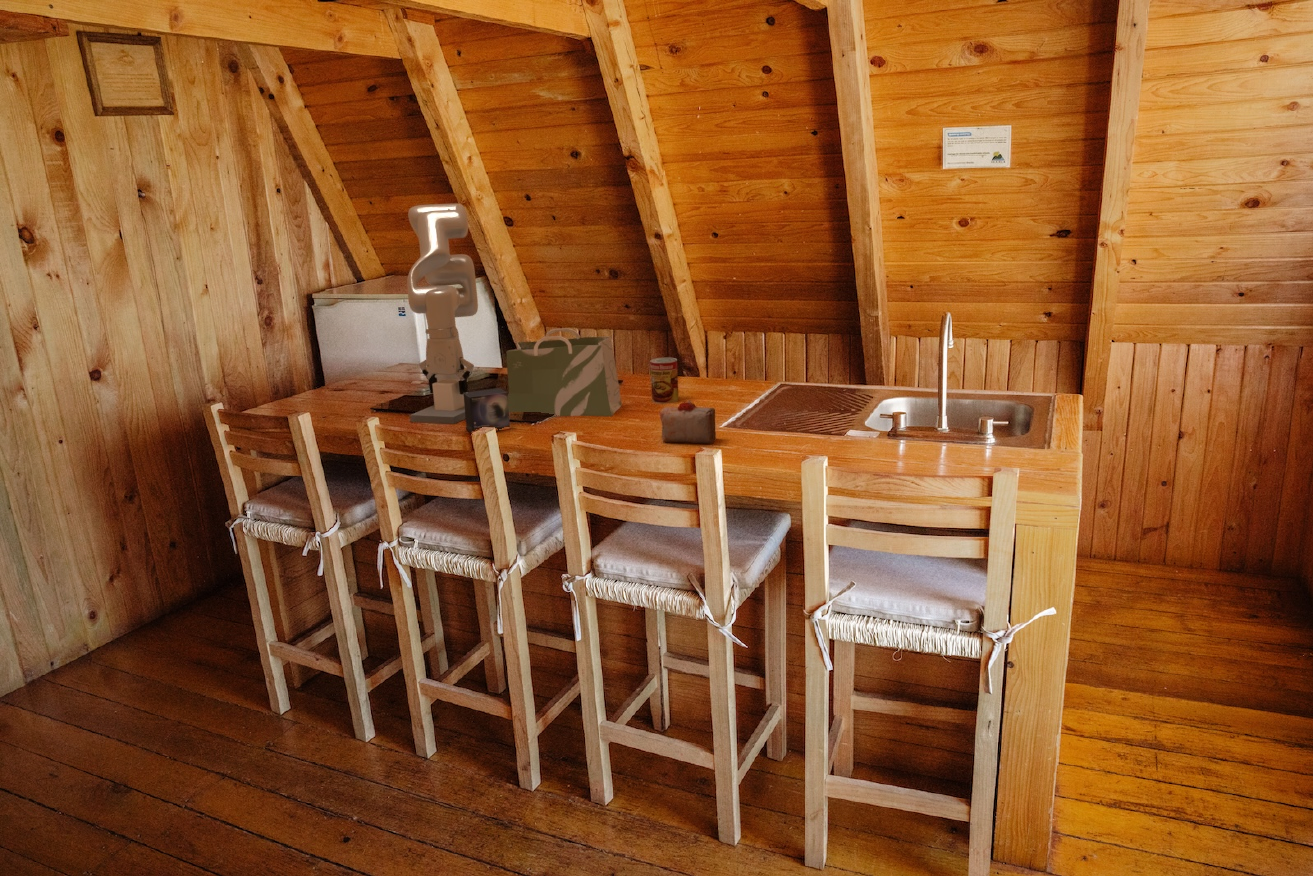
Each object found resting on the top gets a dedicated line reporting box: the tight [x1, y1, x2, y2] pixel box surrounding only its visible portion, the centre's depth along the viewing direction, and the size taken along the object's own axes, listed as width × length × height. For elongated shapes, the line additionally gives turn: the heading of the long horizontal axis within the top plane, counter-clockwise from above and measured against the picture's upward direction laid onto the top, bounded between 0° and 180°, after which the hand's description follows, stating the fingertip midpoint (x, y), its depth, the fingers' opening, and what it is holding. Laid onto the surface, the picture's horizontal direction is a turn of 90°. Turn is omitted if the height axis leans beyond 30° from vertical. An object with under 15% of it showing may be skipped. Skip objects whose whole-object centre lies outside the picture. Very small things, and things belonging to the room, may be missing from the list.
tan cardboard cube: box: [432, 379, 464, 411], centre depth 272 cm, size 6×6×8 cm
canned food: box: [649, 357, 679, 404], centre depth 278 cm, size 8×8×12 cm
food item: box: [659, 399, 717, 445], centre depth 234 cm, size 14×8×10 cm, turn 73°
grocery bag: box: [506, 327, 622, 417], centre depth 269 cm, size 32×14×23 cm, turn 77°
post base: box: [409, 404, 466, 425], centre depth 272 cm, size 20×14×8 cm
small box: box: [463, 387, 511, 434], centre depth 253 cm, size 11×6×10 cm, turn 117°
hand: (448, 392), depth 272 cm, fingers open, 9 cm apart
